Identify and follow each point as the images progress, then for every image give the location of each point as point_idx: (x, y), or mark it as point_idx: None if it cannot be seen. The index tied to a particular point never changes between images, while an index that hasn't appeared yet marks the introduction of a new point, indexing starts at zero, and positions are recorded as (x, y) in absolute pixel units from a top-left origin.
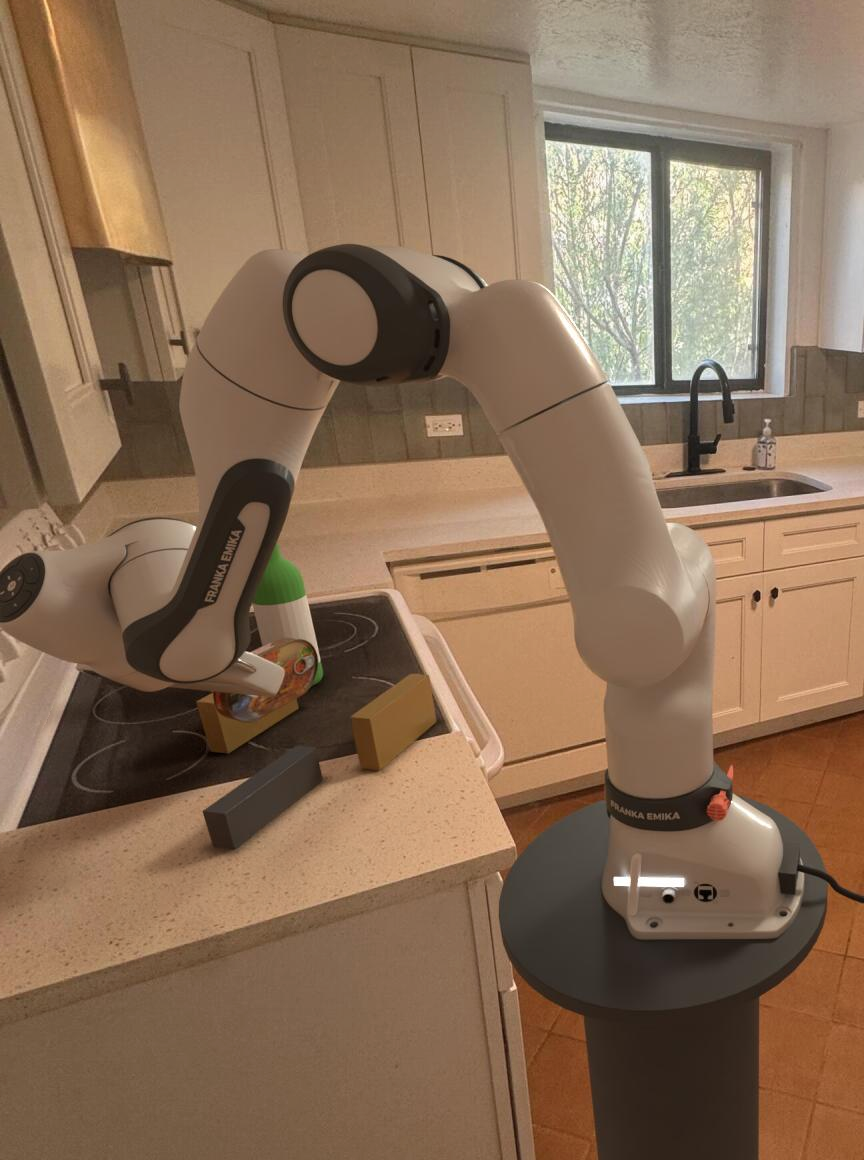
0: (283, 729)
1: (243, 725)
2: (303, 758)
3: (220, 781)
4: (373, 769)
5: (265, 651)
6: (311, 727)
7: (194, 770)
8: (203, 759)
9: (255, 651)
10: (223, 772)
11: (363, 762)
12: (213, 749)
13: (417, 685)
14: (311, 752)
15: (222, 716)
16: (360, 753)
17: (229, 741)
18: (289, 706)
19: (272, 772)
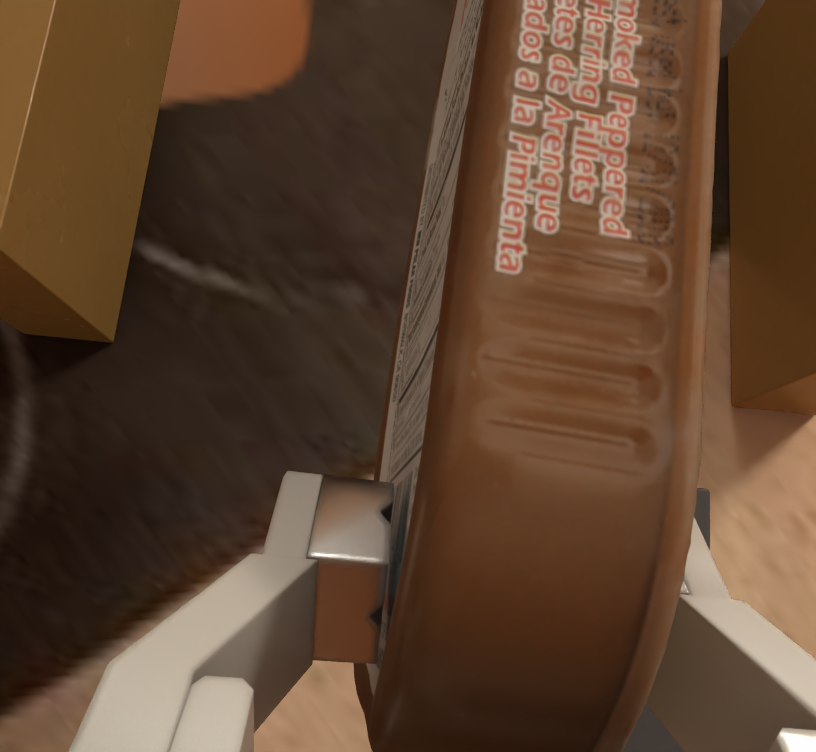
0: (223, 146)
1: (107, 211)
2: None
3: (223, 549)
4: (788, 411)
5: (651, 130)
6: (330, 125)
7: (52, 478)
8: (34, 392)
9: (537, 143)
10: (189, 481)
11: (764, 402)
12: (37, 331)
13: None
14: (707, 524)
15: (46, 260)
16: (783, 393)
17: (100, 308)
18: (166, 4)
19: (667, 748)
